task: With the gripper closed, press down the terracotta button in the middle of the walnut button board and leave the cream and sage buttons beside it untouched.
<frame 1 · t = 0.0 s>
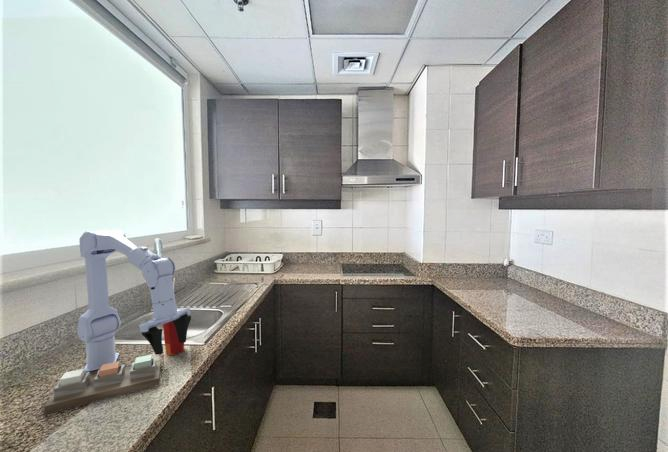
hand: (171, 347, 83), 11 cm above the table, tool pointing down, fingers open, 7 cm apart
terracotta button: (109, 370, 82), point 5 cm above the table, slide at 0.0 cm
cream button: (72, 378, 78), point 5 cm above the table, slide at 0.0 cm
button board: (110, 386, 82), on the table
sage button: (143, 362, 86), point 5 cm above the table, slide at 0.0 cm
paper cup: (174, 352, 103), on the table
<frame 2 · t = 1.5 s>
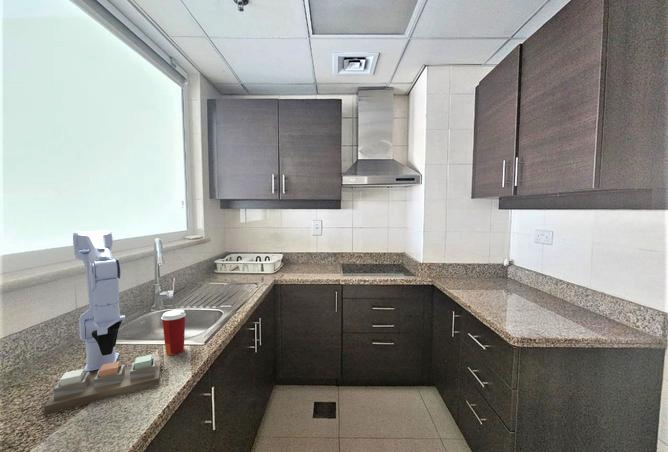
hand: (108, 350, 82), 10 cm above the table, tool pointing down, fingers open, 4 cm apart
nothing on the table moved.
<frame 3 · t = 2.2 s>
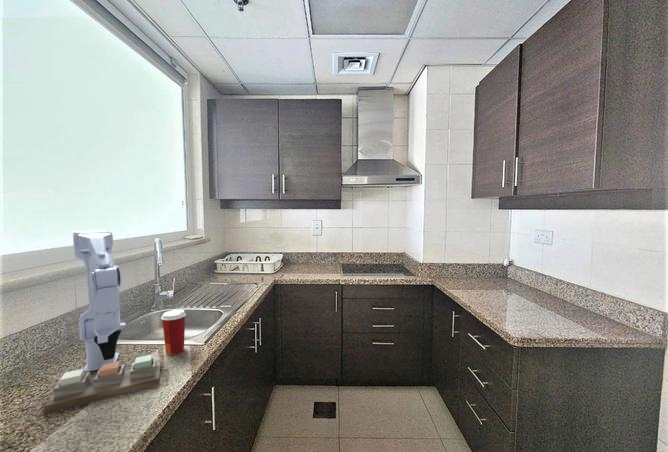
hand: (109, 358, 82), 8 cm above the table, tool pointing down, fingers closed
nothing on the table moved.
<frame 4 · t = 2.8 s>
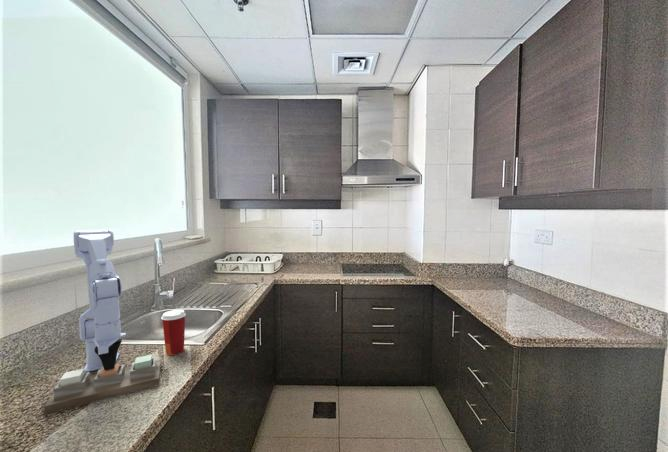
hand: (109, 368, 82), 5 cm above the table, tool pointing down, fingers closed, pressing on terracotta button
terracotta button: (109, 372, 82), point 4 cm above the table, slide at 0.7 cm, touching gripper
everything else where it was.
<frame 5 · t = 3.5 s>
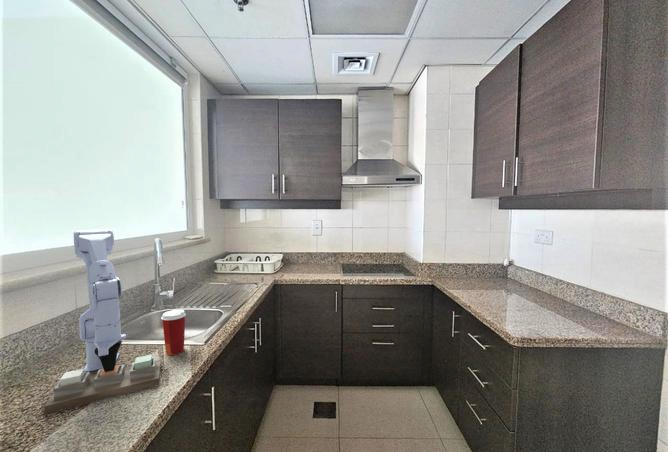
hand: (109, 370, 82), 5 cm above the table, tool pointing down, fingers closed
terracotta button: (110, 374, 82), point 4 cm above the table, slide at 1.1 cm
everything else where it was.
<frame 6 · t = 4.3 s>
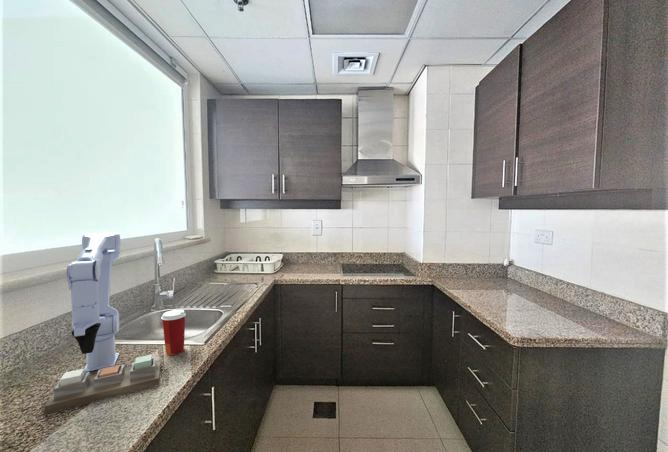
hand: (87, 352, 81), 10 cm above the table, tool pointing down, fingers closed
nothing on the table moved.
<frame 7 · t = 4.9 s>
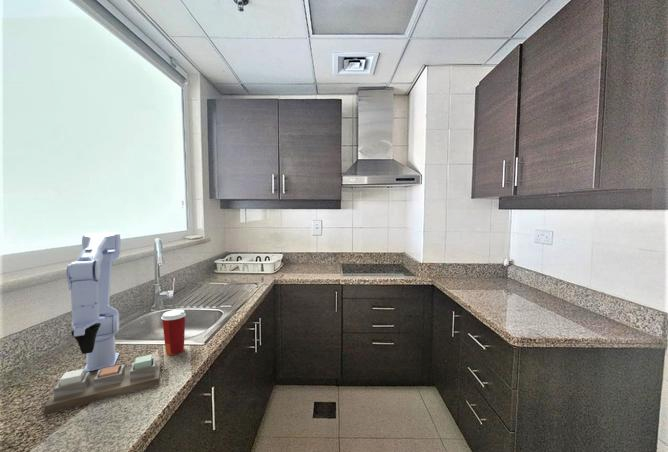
hand: (87, 352, 81), 10 cm above the table, tool pointing down, fingers closed
nothing on the table moved.
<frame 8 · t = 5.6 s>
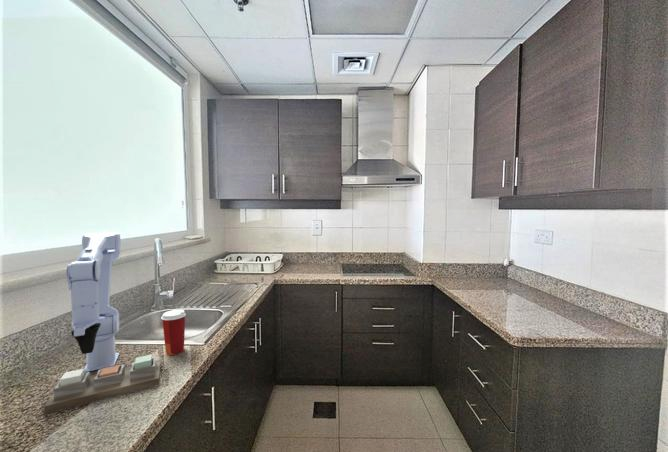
hand: (87, 352, 81), 10 cm above the table, tool pointing down, fingers closed
nothing on the table moved.
at the end: terracotta button slide at 1.1 cm; cream button slide at 0.0 cm; sage button slide at 0.0 cm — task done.
